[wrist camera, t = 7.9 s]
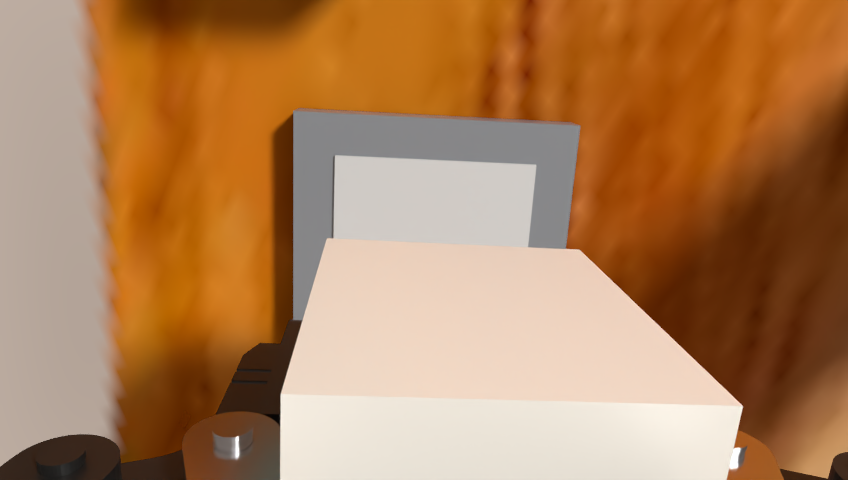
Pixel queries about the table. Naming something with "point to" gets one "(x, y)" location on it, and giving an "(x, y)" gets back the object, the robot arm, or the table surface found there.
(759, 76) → the table surface
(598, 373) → the cream brick
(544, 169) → the baseplate
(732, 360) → the table surface
